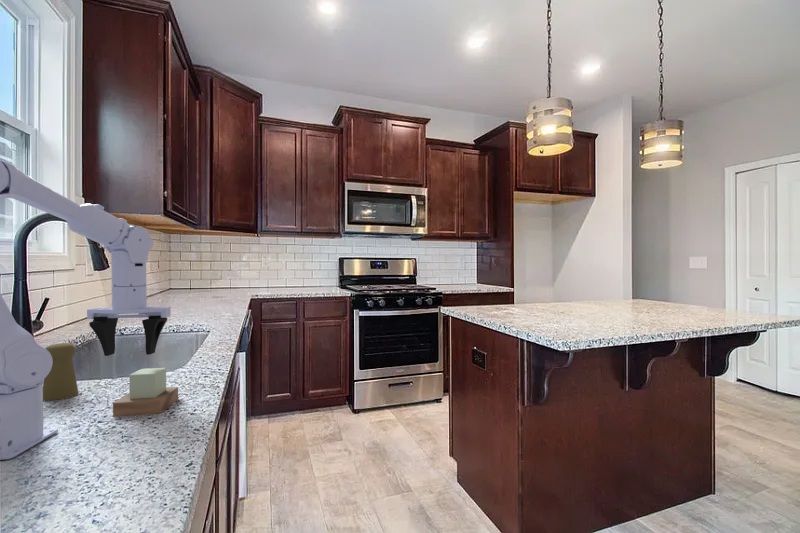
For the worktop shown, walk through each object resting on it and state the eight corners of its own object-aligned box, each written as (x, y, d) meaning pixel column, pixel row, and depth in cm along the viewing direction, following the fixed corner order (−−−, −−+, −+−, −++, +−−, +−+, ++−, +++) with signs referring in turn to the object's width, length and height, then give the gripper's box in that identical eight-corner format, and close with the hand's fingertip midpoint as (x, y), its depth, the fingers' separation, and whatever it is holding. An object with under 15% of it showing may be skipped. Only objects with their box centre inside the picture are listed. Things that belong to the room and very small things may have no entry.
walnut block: (160, 416, 73) (160, 400, 73) (113, 419, 72) (112, 402, 72) (178, 401, 81) (177, 387, 81) (136, 403, 80) (135, 388, 80)
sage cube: (155, 397, 74) (155, 373, 74) (129, 398, 74) (129, 374, 74) (166, 390, 79) (165, 367, 79) (141, 391, 78) (141, 368, 78)
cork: (44, 402, 79) (43, 348, 79) (37, 396, 83) (36, 344, 83) (82, 394, 84) (81, 343, 84) (74, 389, 88) (73, 340, 87)
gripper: (176, 284, 83) (177, 348, 83) (102, 285, 81) (103, 350, 81) (160, 286, 76) (161, 356, 76) (79, 287, 74) (80, 359, 74)
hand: (130, 354), depth 78 cm, fingers open, 7 cm apart
